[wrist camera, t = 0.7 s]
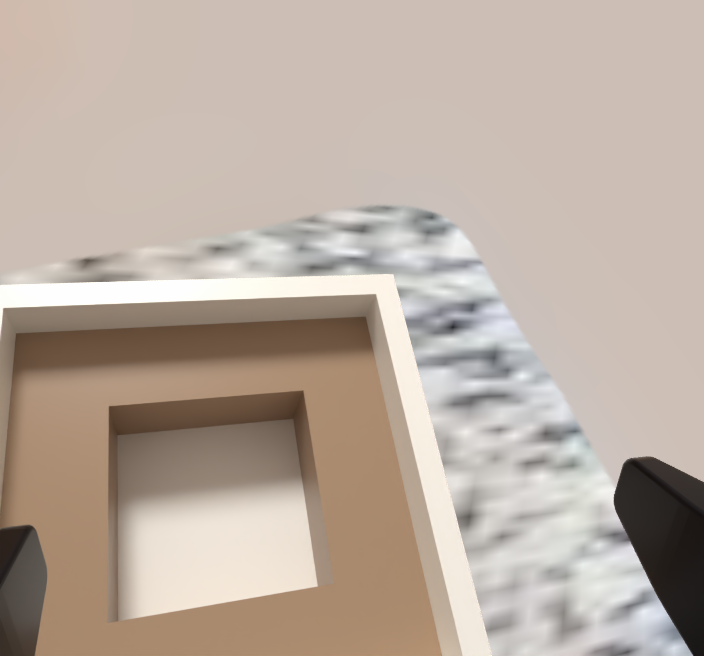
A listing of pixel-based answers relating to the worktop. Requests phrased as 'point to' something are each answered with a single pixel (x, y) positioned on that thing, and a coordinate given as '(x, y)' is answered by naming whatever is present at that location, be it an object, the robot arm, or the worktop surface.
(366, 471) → the peg box
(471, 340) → the worktop surface
